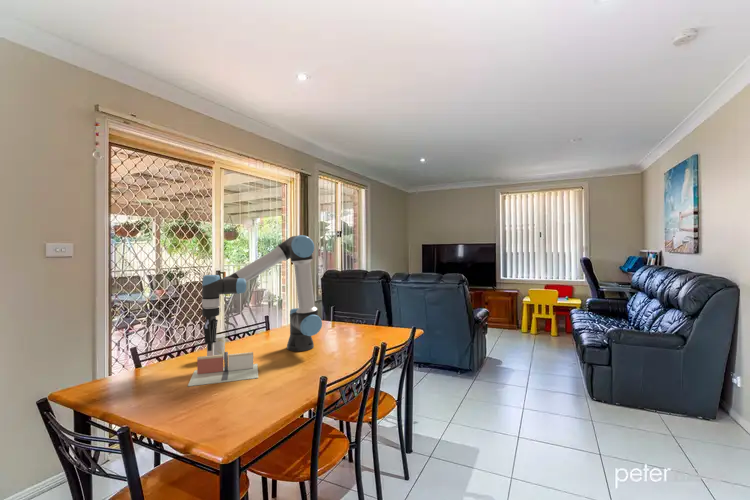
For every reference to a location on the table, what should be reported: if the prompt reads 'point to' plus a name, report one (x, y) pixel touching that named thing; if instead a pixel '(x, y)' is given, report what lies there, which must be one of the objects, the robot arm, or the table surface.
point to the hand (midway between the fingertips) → (210, 356)
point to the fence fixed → (238, 361)
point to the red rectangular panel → (209, 364)
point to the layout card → (223, 376)
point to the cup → (219, 345)
